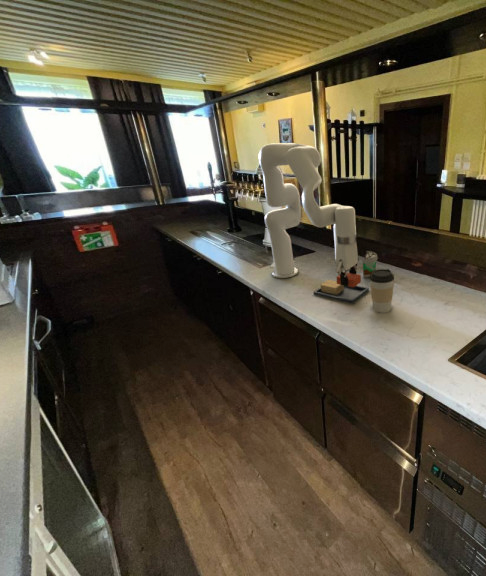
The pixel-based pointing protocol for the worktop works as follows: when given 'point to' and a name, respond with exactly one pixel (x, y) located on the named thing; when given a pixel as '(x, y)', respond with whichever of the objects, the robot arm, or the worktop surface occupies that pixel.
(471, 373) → the worktop surface
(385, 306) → the coffee cup
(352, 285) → the pad
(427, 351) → the worktop surface
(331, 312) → the worktop surface
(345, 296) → the tray
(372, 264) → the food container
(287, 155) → the robot arm
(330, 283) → the pad
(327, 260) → the worktop surface
